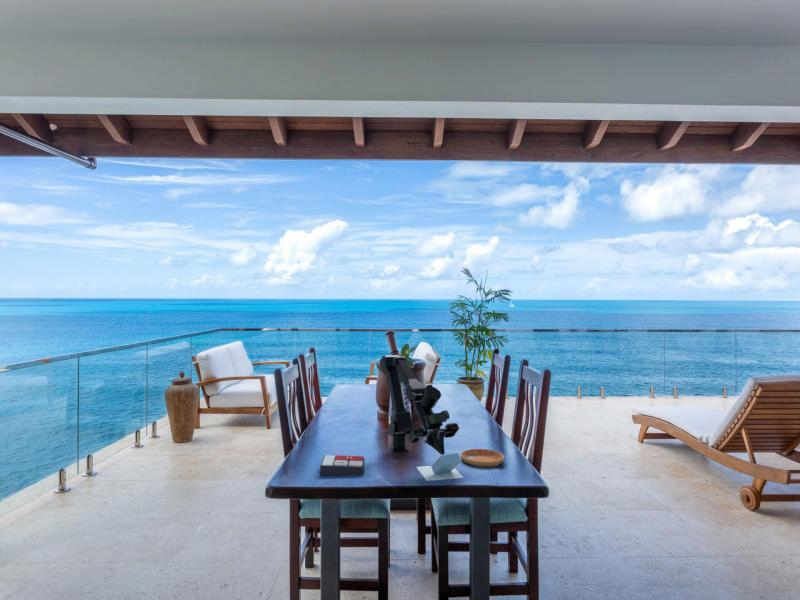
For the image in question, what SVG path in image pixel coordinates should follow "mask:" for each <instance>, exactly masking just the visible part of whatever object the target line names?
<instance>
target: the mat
mask: <svg viewBox="0 0 800 600" xmlns="http://www.w3.org/2000/svg"><path fill="white" fill-rule="evenodd" d="M431 466H432V465H428V466H427V465H425V466H423V465H422V466H416V469H417V470H418V471H419V472H420V474H421V476H422V477H423V478H424V479H425V481H426V482H429V481H440V480H441V481H443V480H452V479H455V480H456V479H463V478H464V476H463V475H462V474H461V473H460V472H459V471H458V470H457V469H456V467H455V468H454V469H453V470H452V471H451V472H446V473H441V474H436V475H434V473H433V470H432V467H431Z"/></svg>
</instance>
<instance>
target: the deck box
mask: <svg viewBox="0 0 800 600" xmlns="http://www.w3.org/2000/svg"><path fill="white" fill-rule="evenodd" d="M460 457H461V456H460V455H459V453H452V454H451V453H450V454H444V455H440V456H438V458H437V459H436V461H435V462H433V464H432V465H430V466H431V467H432V470H433V473H434V475H436V474H441V473H446V472H451V471H452V470H453V469H454V468H455V469H456V467H457V466H458V465H459V464H460V463H461V462H462V460H461V458H460Z"/></svg>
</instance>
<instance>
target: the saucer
mask: <svg viewBox="0 0 800 600" xmlns="http://www.w3.org/2000/svg"><path fill="white" fill-rule="evenodd" d="M460 457H461V458H460V459H462V461H463V462H464V463H466V464H467V465H471V466H475V467H482V468H483V467H484V468H487V467H488V468H489V467H494V468H496V467H498V466H499V465H500V464H502V463H503V461H504V459H505V456H504V454H503V453H501V452H499V451H496V450H492V449H487V448H471V449H466V450H464V451H462V452H461V453H460ZM470 457H471V458H470Z"/></svg>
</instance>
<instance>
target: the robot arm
mask: <svg viewBox="0 0 800 600" xmlns="http://www.w3.org/2000/svg"><path fill="white" fill-rule="evenodd" d="M379 365H380V368H381V371H382V373H383V374H384V375H385V377H386V378H387V383H388V389H389V395H390V400H391V406H392V413H391V416H390V423H389V425H388V427H387V429H386V430H387V431H386V432H387V434H388V435H389V436H391V437H392V441H391V442H392V445H390V449H391V451H392V452H394V453H395V452H408V451H409V448H408V446H407V439H408V442H409V444H416V443H418V442H419V438H423V437H424V444H427V445H429V446H430V447H432V448H433V449H434V450H435V451H436V452H437V453H438V454H440V456H444V455H445V452H446V451H445V438H446V439H449V438H453V437H455V436H456V434H457V432H458V431H459V430H460V427H459V424H458V423H456V422H451V423H447V424H445V427H443V428H441V427H442V426H444V425H443V423H444V422H445V423H446V422H447V420H449V419H450V418H451V417H450V413H449V411H448V410H447V409H446V410H445V409H444V410H442V411H440V412H434V410H433V408H435V406H436V405H437V403H438V402H439V400H440V399H441V397H442V393H441V391H440V390H439V389H438V388H437V387H435V386H433V384H427V385H426V386H425V385H424V384H423V383H422V382H420V381H419V380H418V379H417V378H416V376H415V374H414V373H413V371H412V369H411V367H410V366H409V364H408V362H407V357H406V356H405V355H403V356H402V355H401V356H398V355H397V354H390V355H382V357H381V358H380V360H379ZM400 378H401V380H402V382H403V384H404V386H405V395H406V399H407V400H408V402H409V403H416V404H415V405H414V408H413V414H414V413H416V414H417V417H418V419H419V423H418V424H419V426H421V427H415V428H413V424H414V423H413V420H412V414H411V412H410V411H408V410H407V408H406V407H405V403H404V398H403V397H404V396H403V393H402V392H403V391H402V387H401V381H400ZM407 435H408V436H407ZM407 437H408V438H407Z"/></svg>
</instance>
